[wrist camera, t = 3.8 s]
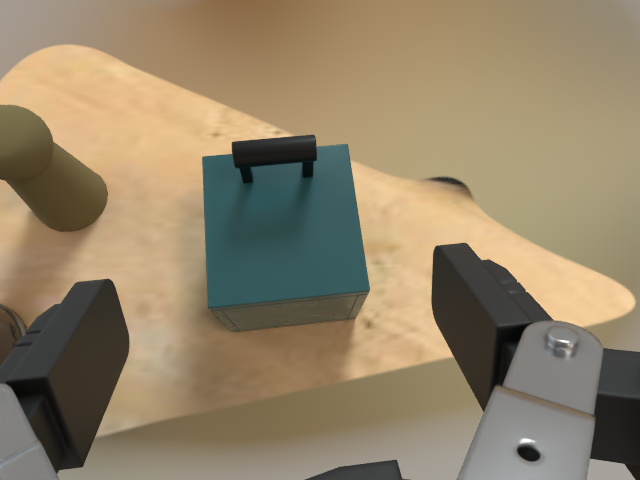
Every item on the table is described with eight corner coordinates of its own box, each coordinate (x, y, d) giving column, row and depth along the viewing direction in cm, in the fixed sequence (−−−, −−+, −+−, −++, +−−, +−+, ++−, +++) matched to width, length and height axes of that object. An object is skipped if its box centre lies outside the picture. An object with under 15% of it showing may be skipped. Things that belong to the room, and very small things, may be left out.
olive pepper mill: (121, 185, 42) (61, 111, 32) (80, 243, 41) (2, 185, 30) (64, 157, 43) (-13, 76, 33) (21, 213, 41) (-75, 146, 31)
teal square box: (224, 216, 42) (204, 168, 34) (340, 205, 42) (347, 155, 34) (231, 332, 38) (210, 311, 30) (356, 318, 39) (368, 294, 31)
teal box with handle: (204, 161, 34) (188, 123, 29) (346, 149, 34) (352, 109, 30) (210, 311, 30) (193, 293, 26) (368, 293, 31) (379, 273, 26)
